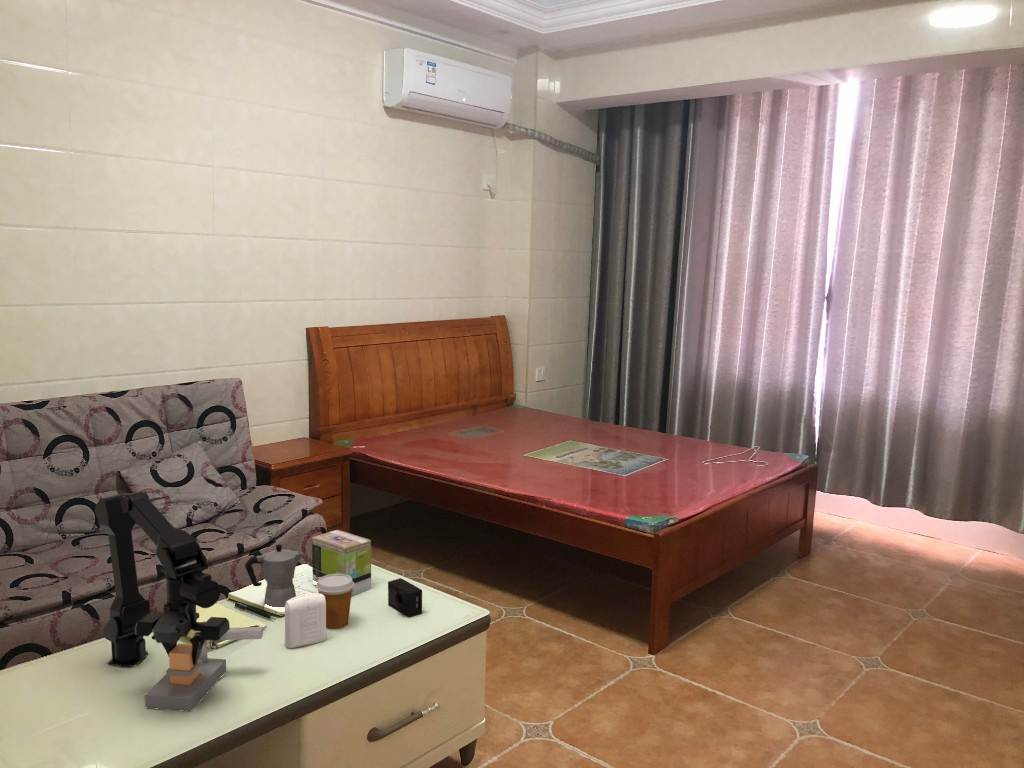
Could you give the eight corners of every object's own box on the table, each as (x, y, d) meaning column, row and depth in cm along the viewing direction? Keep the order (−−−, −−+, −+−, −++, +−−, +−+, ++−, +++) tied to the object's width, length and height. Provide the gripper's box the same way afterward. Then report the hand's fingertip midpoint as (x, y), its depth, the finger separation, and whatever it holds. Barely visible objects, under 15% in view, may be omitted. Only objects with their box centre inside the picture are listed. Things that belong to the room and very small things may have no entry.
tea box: (372, 588, 240) (372, 539, 238) (345, 599, 233) (344, 548, 230) (338, 575, 250) (337, 527, 247) (311, 585, 242) (310, 536, 240)
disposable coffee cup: (362, 621, 219) (361, 578, 217) (336, 635, 211) (335, 590, 209) (335, 613, 224) (334, 570, 222) (309, 626, 216) (308, 581, 214)
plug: (167, 688, 180) (165, 653, 179) (179, 676, 185) (177, 642, 184) (191, 690, 180) (189, 655, 178) (202, 677, 185) (201, 643, 184)
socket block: (145, 708, 176) (143, 671, 175) (184, 668, 193) (183, 635, 191) (191, 711, 175) (189, 674, 174) (226, 671, 192) (225, 637, 191)
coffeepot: (301, 597, 233) (299, 535, 230) (309, 610, 225) (307, 546, 222) (243, 607, 226) (241, 543, 223) (250, 621, 218) (247, 555, 215)
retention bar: (260, 639, 189) (260, 631, 189) (192, 641, 188) (192, 633, 188) (263, 634, 192) (263, 626, 192) (196, 636, 191) (195, 627, 190)
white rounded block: (322, 634, 211) (321, 587, 209) (329, 640, 208) (328, 593, 206) (282, 644, 206) (281, 596, 204) (288, 651, 202) (287, 602, 200)
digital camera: (384, 606, 229) (383, 582, 227) (400, 601, 232) (400, 577, 231) (405, 619, 221) (404, 594, 220) (422, 614, 224) (422, 589, 223)
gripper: (118, 608, 172) (123, 679, 175) (205, 613, 171) (208, 685, 173) (147, 587, 183) (150, 654, 186) (229, 591, 182) (231, 659, 184)
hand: (184, 663), depth 182 cm, fingers closed on plug, 4 cm apart
